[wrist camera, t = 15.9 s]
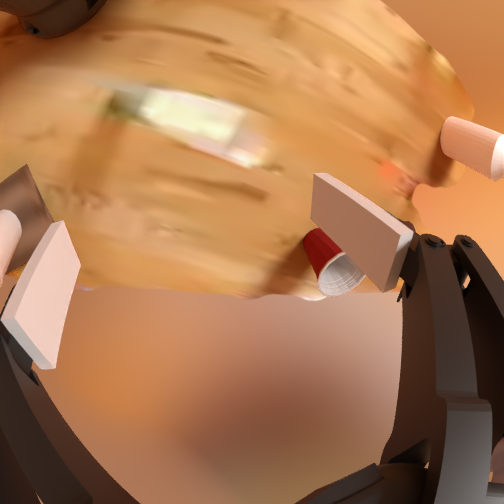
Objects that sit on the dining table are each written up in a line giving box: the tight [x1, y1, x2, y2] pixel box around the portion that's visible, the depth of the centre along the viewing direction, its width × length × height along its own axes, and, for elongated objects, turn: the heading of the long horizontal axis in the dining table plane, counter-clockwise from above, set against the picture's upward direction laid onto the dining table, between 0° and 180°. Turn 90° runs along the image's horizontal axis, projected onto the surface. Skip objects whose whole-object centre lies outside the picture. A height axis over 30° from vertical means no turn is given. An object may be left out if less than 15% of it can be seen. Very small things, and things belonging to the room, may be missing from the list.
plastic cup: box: [303, 228, 366, 297], centre depth 50 cm, size 11×11×12 cm
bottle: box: [440, 116, 504, 181], centre depth 41 cm, size 12×12×25 cm
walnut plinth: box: [0, 164, 55, 274], centre depth 31 cm, size 14×14×4 cm
